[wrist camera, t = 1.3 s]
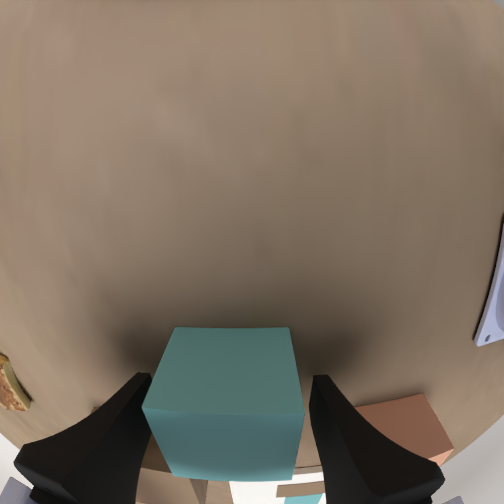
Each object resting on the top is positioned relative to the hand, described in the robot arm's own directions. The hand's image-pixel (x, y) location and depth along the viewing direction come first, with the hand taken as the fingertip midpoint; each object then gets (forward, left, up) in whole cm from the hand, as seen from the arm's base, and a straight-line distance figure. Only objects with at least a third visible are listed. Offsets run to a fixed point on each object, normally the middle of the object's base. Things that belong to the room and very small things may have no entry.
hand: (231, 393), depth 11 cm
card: (-5, +15, -2) cm, 16 cm away
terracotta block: (-9, +6, -2) cm, 11 cm away
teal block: (0, 0, -2) cm, 2 cm away
